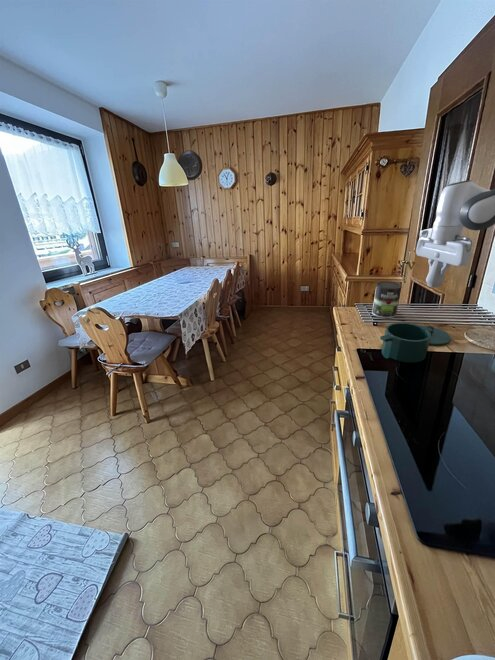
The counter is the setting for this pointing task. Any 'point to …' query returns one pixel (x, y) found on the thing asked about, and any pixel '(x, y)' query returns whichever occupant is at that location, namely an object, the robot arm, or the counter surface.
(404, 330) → the pot
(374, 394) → the counter surface
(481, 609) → the counter surface
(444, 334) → the lid
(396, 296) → the coffee can
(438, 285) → the salt shaker
